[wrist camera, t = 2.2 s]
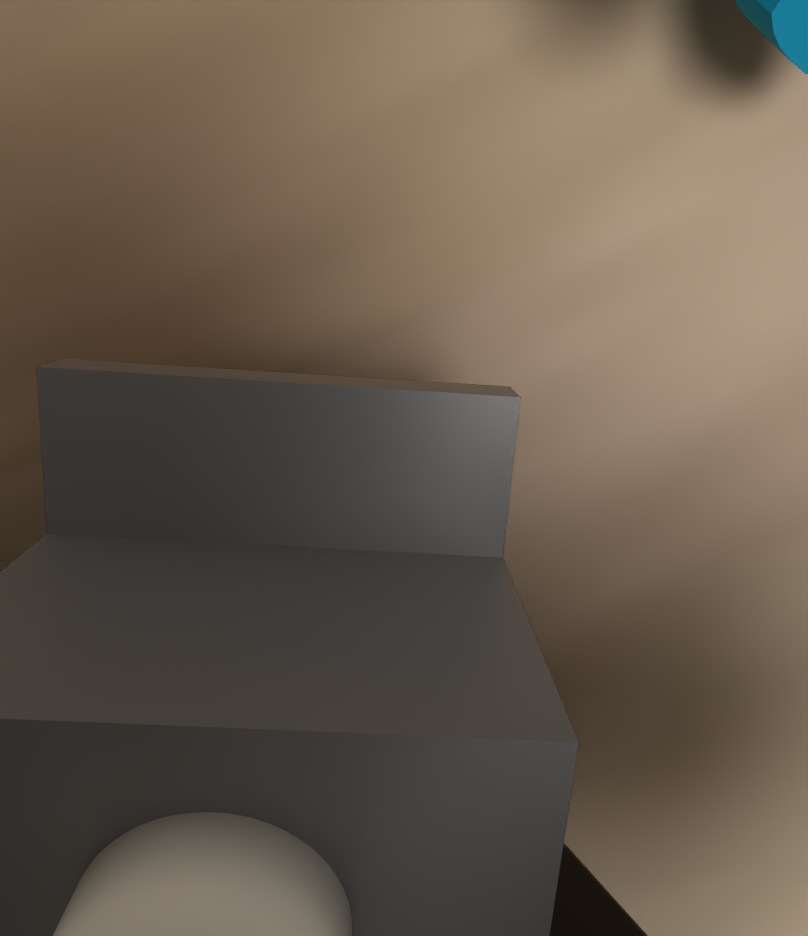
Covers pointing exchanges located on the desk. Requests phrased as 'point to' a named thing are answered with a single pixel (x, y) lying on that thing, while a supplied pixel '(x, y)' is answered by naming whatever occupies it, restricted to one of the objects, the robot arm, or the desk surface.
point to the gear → (781, 26)
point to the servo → (274, 665)
